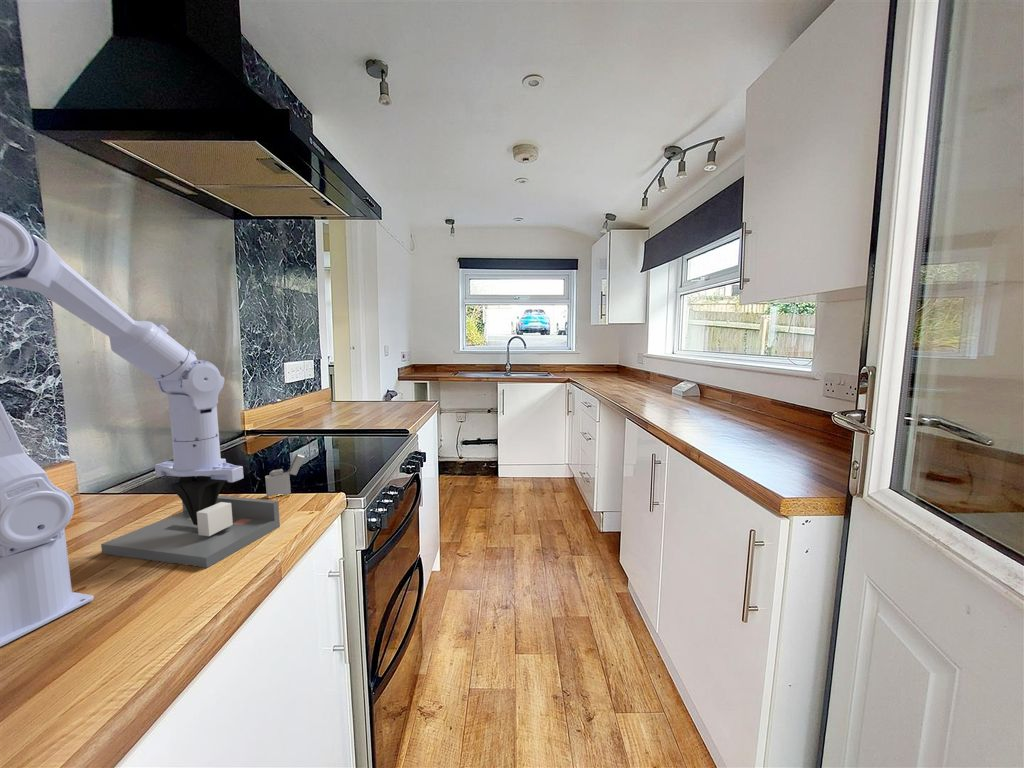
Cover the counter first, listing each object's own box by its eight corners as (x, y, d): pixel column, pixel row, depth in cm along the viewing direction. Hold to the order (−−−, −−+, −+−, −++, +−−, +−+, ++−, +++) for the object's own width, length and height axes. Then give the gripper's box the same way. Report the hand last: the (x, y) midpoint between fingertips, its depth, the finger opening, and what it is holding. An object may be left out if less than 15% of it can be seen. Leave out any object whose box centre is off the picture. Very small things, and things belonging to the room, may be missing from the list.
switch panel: (207, 568, 55) (204, 536, 55) (102, 553, 59) (98, 524, 59) (279, 526, 68) (278, 500, 68) (189, 517, 72) (187, 492, 72)
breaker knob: (209, 536, 61) (207, 513, 60) (198, 535, 61) (196, 512, 61) (232, 524, 64) (231, 502, 64) (222, 523, 65) (220, 502, 64)
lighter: (267, 498, 81) (265, 459, 80) (266, 496, 82) (264, 458, 81) (306, 490, 85) (304, 453, 84) (305, 488, 86) (302, 452, 85)
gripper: (257, 433, 64) (262, 515, 65) (184, 430, 67) (190, 508, 68) (216, 444, 57) (223, 535, 59) (137, 440, 60) (145, 526, 62)
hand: (203, 522), depth 63 cm, fingers closed
